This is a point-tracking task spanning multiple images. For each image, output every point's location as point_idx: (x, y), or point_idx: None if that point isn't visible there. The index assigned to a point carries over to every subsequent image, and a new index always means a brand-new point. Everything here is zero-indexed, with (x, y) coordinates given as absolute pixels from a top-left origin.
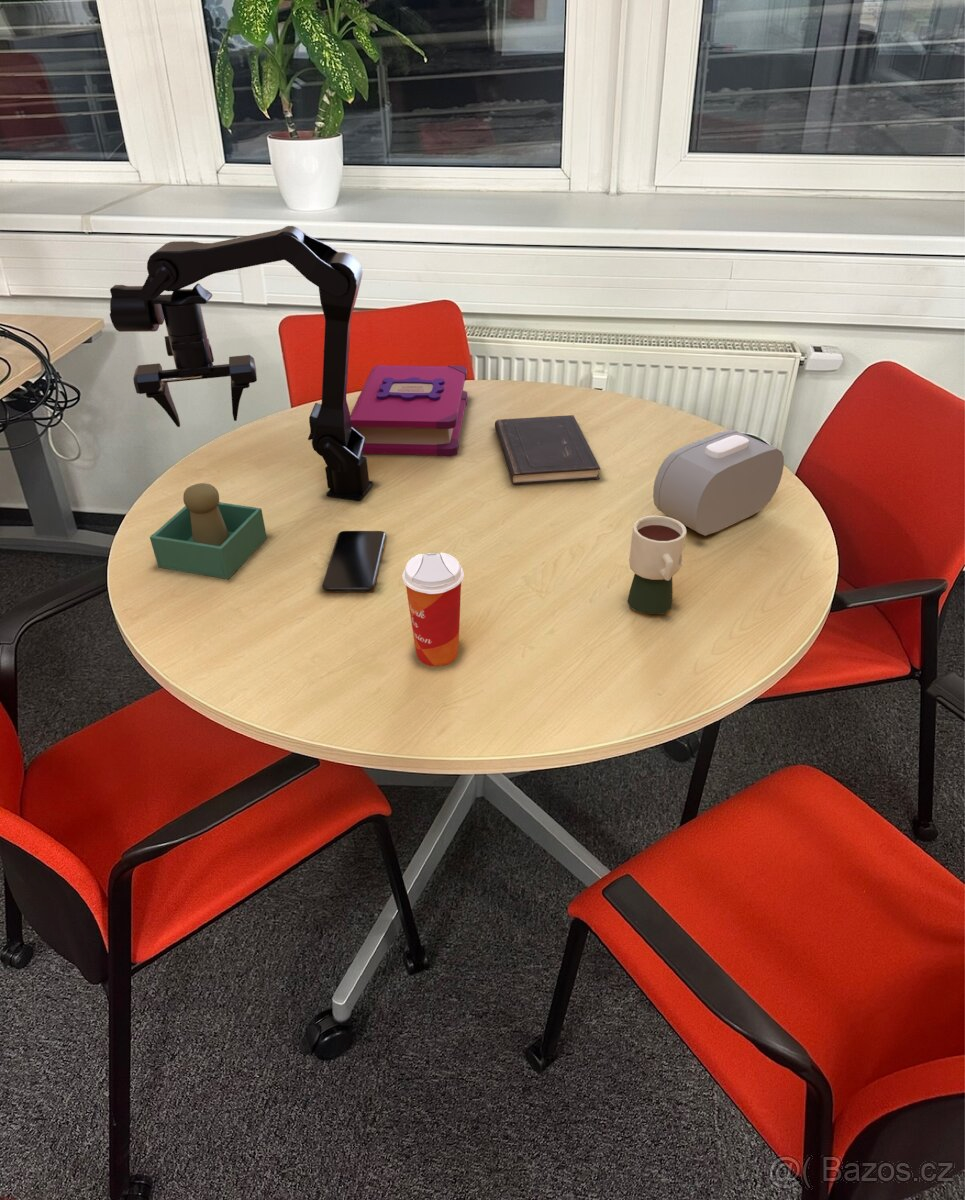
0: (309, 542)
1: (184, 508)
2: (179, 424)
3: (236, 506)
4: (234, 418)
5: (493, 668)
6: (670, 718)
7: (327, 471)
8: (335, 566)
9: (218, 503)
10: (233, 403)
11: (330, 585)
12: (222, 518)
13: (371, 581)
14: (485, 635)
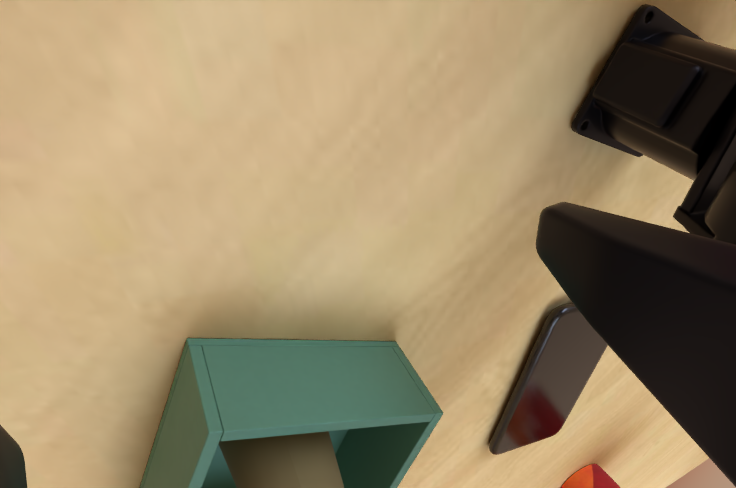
0: (486, 335)
1: (197, 486)
2: (20, 473)
3: (374, 425)
4: (558, 272)
5: (614, 476)
6: (690, 469)
7: (651, 124)
8: (522, 410)
9: (314, 430)
10: (705, 436)
11: (504, 450)
12: (343, 485)
13: (561, 424)
14: (631, 443)
